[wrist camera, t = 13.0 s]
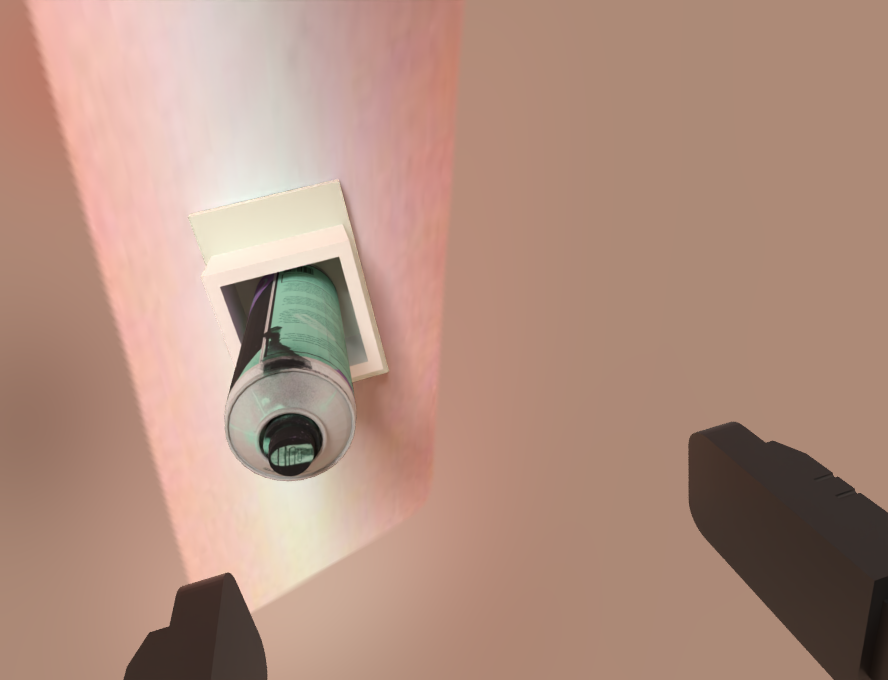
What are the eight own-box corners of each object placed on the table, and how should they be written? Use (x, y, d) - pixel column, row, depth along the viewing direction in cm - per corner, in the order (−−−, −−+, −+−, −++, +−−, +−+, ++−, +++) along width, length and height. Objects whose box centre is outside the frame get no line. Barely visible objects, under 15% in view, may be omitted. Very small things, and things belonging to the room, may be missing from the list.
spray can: (238, 285, 40) (182, 440, 22) (311, 245, 40) (316, 367, 22) (283, 351, 42) (266, 541, 24) (352, 313, 43) (388, 475, 24)
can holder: (190, 213, 39) (174, 233, 33) (337, 179, 40) (345, 192, 35) (259, 401, 45) (255, 444, 39) (387, 365, 46) (400, 402, 40)
